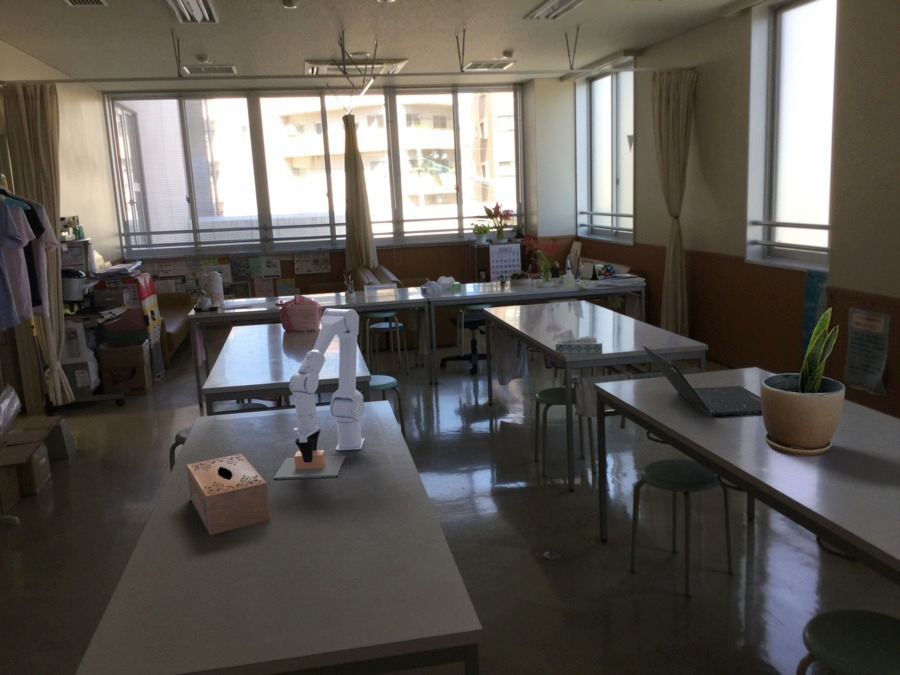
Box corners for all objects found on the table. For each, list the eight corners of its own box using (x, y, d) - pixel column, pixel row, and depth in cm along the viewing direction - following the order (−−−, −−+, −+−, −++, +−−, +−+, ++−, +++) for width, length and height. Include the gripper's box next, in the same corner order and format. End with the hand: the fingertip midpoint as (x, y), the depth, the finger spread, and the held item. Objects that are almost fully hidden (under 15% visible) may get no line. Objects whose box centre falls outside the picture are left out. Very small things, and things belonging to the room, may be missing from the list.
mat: (286, 459, 222) (286, 457, 222) (345, 457, 222) (345, 455, 222) (273, 479, 207) (273, 477, 207) (337, 476, 206) (337, 474, 206)
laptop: (783, 414, 243) (785, 357, 240) (671, 421, 242) (672, 364, 239) (740, 389, 276) (741, 339, 273) (641, 395, 275) (642, 344, 271)
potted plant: (833, 465, 197) (841, 319, 189) (750, 452, 210) (754, 314, 202) (847, 443, 213) (855, 307, 206) (769, 431, 226) (773, 303, 219)
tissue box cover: (270, 521, 180) (266, 482, 178) (210, 536, 173) (205, 496, 172) (245, 487, 202) (241, 453, 201) (190, 500, 196) (186, 464, 194)
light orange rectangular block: (325, 462, 216) (324, 449, 216) (323, 468, 212) (321, 455, 211) (298, 464, 216) (297, 451, 216) (295, 469, 212) (294, 456, 211)
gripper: (297, 407, 219) (301, 450, 221) (286, 421, 204) (291, 467, 207) (321, 406, 218) (324, 449, 221) (312, 420, 204) (316, 466, 207)
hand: (310, 458), depth 214 cm, fingers open, 6 cm apart
